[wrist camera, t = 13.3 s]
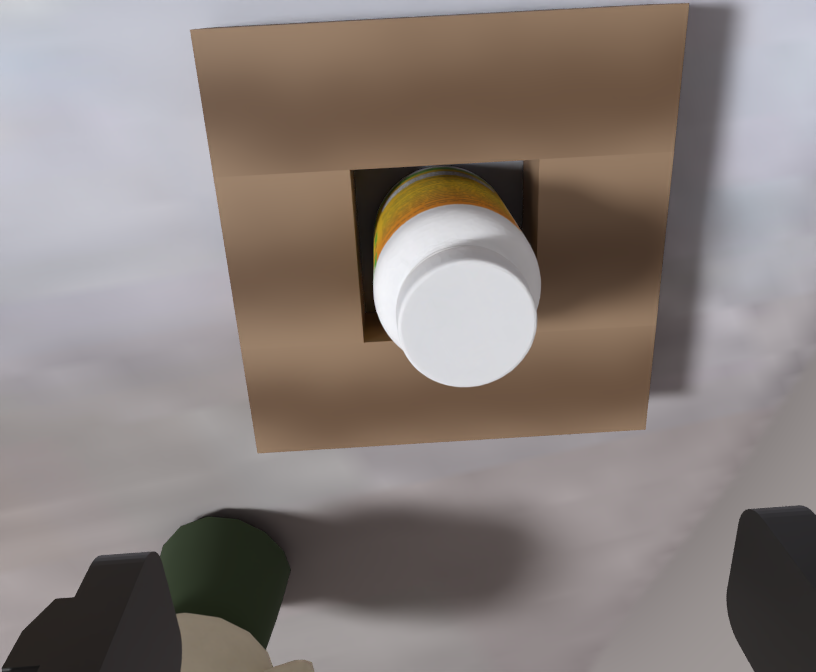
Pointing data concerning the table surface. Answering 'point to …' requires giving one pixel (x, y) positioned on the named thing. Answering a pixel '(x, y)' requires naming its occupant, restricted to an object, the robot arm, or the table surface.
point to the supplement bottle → (454, 277)
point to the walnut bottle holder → (440, 145)
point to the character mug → (226, 595)
